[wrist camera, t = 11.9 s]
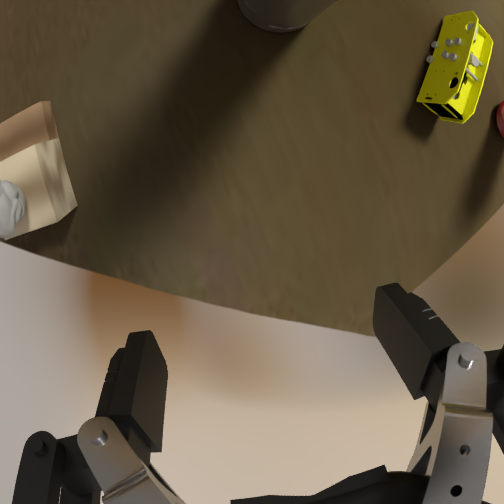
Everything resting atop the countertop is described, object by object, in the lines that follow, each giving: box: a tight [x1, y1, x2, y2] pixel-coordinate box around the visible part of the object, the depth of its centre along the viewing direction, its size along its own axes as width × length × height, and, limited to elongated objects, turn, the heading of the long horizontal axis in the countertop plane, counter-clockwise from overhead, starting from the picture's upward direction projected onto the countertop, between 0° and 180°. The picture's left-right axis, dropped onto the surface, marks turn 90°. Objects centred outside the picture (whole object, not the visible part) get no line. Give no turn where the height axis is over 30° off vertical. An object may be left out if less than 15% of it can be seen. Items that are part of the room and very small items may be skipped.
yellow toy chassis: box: [416, 11, 493, 124], centre depth 27 cm, size 16×6×8 cm, turn 158°
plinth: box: [0, 101, 78, 240], centre depth 28 cm, size 14×9×6 cm, turn 10°
